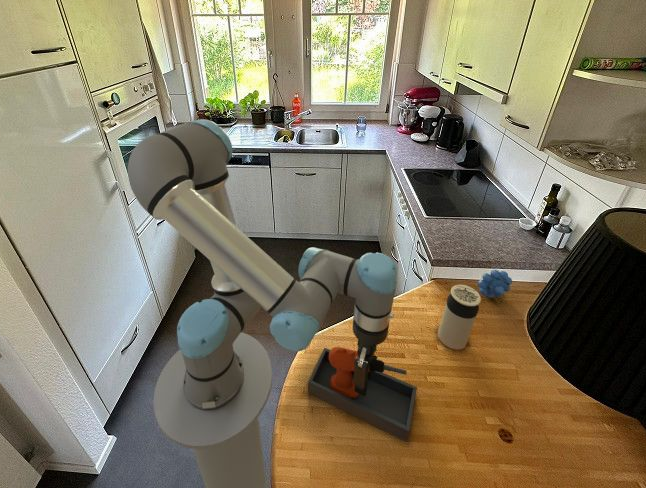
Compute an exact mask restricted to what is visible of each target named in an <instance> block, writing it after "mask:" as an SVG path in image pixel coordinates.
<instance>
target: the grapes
mask: <svg viewBox="0 0 646 488" xmlns="http://www.w3.org/2000/svg"><path fill="white" fill-rule="evenodd" d="M481 278H482V279H479V280H478V282H477V286H478V288H479V289H478V290H479V293H480V294H481V295H483V296H486V297H487V298H489V299H494V297H498V298H501V297H503V296H504V294H505V293H507V292H510V290H511V285H512V283H513V279H512V278H511V277H510V276H509V274H508V272H507V271H505V270H500V271H499V270H497V269H492V270H491V271H490V273H487V272H485V273H483V274H482V276H481Z"/></svg>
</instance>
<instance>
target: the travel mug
mask: <svg viewBox="0 0 646 488" xmlns="http://www.w3.org/2000/svg"><path fill="white" fill-rule="evenodd" d="M479 293H480V292H478V291H477V290H476V289H474V288H473V287H471V286H468V285H466V284H456V285H453V286H452V287H451V289H450V293H449V295H447V299H446V302H445V305H444V309H443V312H442V315H441V319H440V323H439V327H438V330H437V337H438V339H439V341H440V342H441V343H442V344H443V346H445V347H447V348H449V349H452V350H456V351H457V350H462V349H464V348H466V346H467V343H468V341H469V338H470V335H471V333H472V329H473V327H474V324H475V322H476V318H477V316H478V314H479V310H480V306H479V305H480V303H481V301H482V298H481V297H482V296H481V295H480V294H479Z"/></svg>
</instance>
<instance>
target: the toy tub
mask: <svg viewBox="0 0 646 488" xmlns="http://www.w3.org/2000/svg"><path fill="white" fill-rule="evenodd" d="M330 351H331V349H329V348H327V347H324V348H323V350H322V352H321V354H320V355H319V358H318V360H317V362H316V364H315V367H314V369H313V370H312V373H311V375H310V377H309V379H308V381H307V393H308V394H309V395H312V396H314V397H316V398H317V399H320V400H322V401H324V402H326V403H328V404H330V405H331V406H334V407H335V408H337V409H340V410H342V411H344V412H345V413H348V414H350V415H352V416H354V417H355V418H357V419H360V420H361V421H363V422H365V423H367V424H370V425H372V426H374V427H375V428H378V429H380V430H381V431H383V432H385V433H388V434H390V435H391V436H394V437H396V438H397V439H400V440H402V441H404V442H407V441H408V437H409V434H410V430H411V424H412V420H413V419H412V418H413V413H414V407H415V401H416V396H417V390H418V387H417V386H415V385H414V384H411V383H408V382H407V381H404V380H401V379H399V378H396V377H394V376H393V375H390V374H387V373H385V372H381V373H380V372H376V371H375V372H374V371H372V374H371V380H368V384H367V391H366V396H363V395H361V394H359V395H358V396H357V397H356V398H354V399H349V398H347V397H345V396H343V395H341V394H339V393H337V392H335V391H333V390H332V389H331V387H330V380H331V377H332V376H333V375H334V374H336V373H337V369H336V368H334V367H333V366H332V365H331V363H330V361H329V353H330ZM353 379H354V378H353Z"/></svg>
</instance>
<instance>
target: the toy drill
mask: <svg viewBox="0 0 646 488" xmlns="http://www.w3.org/2000/svg"><path fill="white" fill-rule="evenodd" d="M330 350H331V351H330V353H329V361H330V363H331V365H332V366H333V367H334V368H336V369H337V373H336V374H334V375H333V376H332V377H331V380H330V387H331V389H332V390H333V391H335V392H337V393H339V394H341V395H343V396H345V397H347V398H349V399H354V398H356V397H357V396H358V395H359V393H357V392H355V384H353V380H354V379H353V377H352V376H353V374H354V368H355V365H354V360H355V359H356V358H357V357H358V358H359V356H358V355H357V351H358V350H354V349H350V348H346V347H338V346H334V347H332V348H331V349H330ZM370 371H374V372H375V371H376V372H380V373H381V372H383V373H385V371H387V372H392V373H396V374H401V375H407V373H408V372H407V370H406V369H402V368H399V367H394V366H391V365H389V364H385V362H384V361H383V360H381V359H378V358H377V359H375V358H373V359H372V361H370V365H369V371H368V372H370Z"/></svg>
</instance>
